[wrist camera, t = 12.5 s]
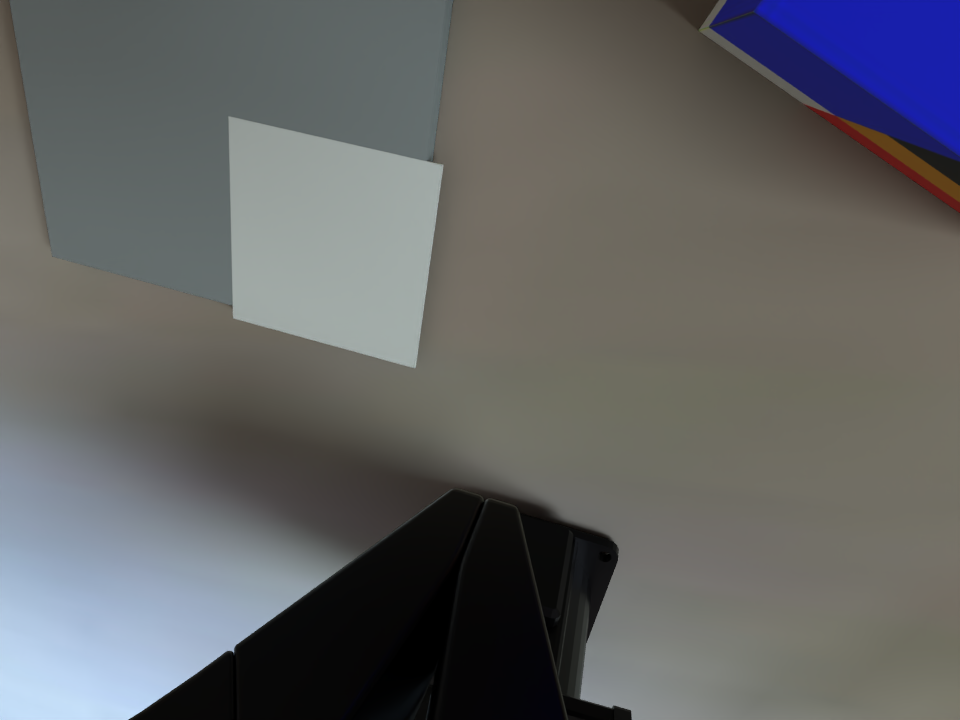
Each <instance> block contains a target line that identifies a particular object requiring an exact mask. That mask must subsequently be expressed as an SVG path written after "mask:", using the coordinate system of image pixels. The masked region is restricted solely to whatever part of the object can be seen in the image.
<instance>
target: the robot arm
mask: <svg viewBox="0 0 960 720" xmlns="http://www.w3.org/2000/svg"><path fill="white" fill-rule="evenodd" d="M618 551H619V549H618V547H617V545H616V544H615V543H614V542H612V541H610V540H608V539H604V538H601V537H598V536H594V535H591V534H588V533H584V532H581V531H578V530H574V529H571V528H568V527H564V526H561V525H558V524H554V523H551V522H548V521H544V520H541V519H538V518H534V517H531V516H528V515H524V514H521V513H519V511H518V508H517V507H516V506H514V505H512V504H508V503H505V502H502V501H498V500H495V499H491V498H489V499H487V500H485V502H484V499H483V497H482V496H481V495H478V494H475V493H471V492H468V491H465V490H461V489H458V488H454V489H451V490H449V491H448V492H447V493H445V494H444V495H442V496H441V497H440V498H438V499H437V500H436V501H434V502H433V503H431V504H430V505H429V506H427V507H426V508H425V509H423V510H422V511H420V512H419V513H418V514H416V515H415V516H413V517H412V518H411V519H409V520H408V521H407V522H405V523H404V524H402V525H401V526H400V527H398V528H397V529H396V530H394V531H393V532H391V533H390V534H389V535H387V536H386V537H385V538H383V539H382V540H380V541H379V542H378V543H376V544H375V545H374V546H372V547H371V548H369V549H368V550H367V551H365V552H364V553H363V554H361V555H360V556H358V557H357V558H356V559H354V560H353V561H352V562H350V563H349V564H347V565H346V566H345V567H343V568H342V569H340V570H339V571H338V572H336V573H335V574H334V575H332V576H331V577H329V578H328V579H327V580H325V581H324V582H323V583H321V584H320V585H318V586H317V587H316V588H314V589H313V590H312V591H310V592H309V593H307V594H306V595H305V596H303V597H302V598H301V599H299V600H298V601H296V602H295V603H294V604H292V605H291V606H289V607H288V608H287V609H285V610H284V611H283V612H281V613H280V614H278V615H277V616H276V617H274V618H273V619H272V620H270V621H269V622H267V623H266V624H265V625H263V626H262V627H261V628H259V629H258V630H256V631H255V632H254V633H252V634H251V635H250V636H248V637H247V638H245V639H244V640H243V641H241V642H240V643H239V644H237V645H236V646H235V648H234V653H233V652H232V651H227V652H225V653H224V654H223V655H221V656H220V657H219V658H217V659H216V660H214V661H213V662H212V663H210V664H209V665H208V666H206V667H205V668H204V669H202V670H201V671H199V672H198V673H197V674H195V675H194V676H192V677H191V678H189V679H188V680H187V681H185V682H184V683H182V684H181V685H179V686H178V687H176V688H175V689H174V690H172V691H171V692H169V693H168V694H166V695H165V696H163V697H162V698H160V699H159V700H158V701H156V702H155V703H153V704H152V705H150V706H149V707H147V708H146V709H144V710H143V711H142V712H140V713H138V714H137V715H135V716H134V717H132V718H130V719H129V720H632V718H631V710H628V709H624V708H621V707H617V706H613V707H612V708H609V707H606V706H602V705H599V704H595V703H592V702H588V701H585V700H581V699H580V694H581V685H582V676H583V667H584V657H585V648H586V643H587V640H588V638H589V635H590V632H591V630H592V627H593V624H594V622H595V619H596V617H597V614H598V611H599V609H600V606H601V603H602V601H603V598H604V596H605V593H606V590H607V588H608V585H609V582H610V580H611V577H612V575H613V572H614V569H615V567H616V564H617V561H618ZM600 552H608V553H610V554H607V555H606V554H602V553H600Z"/></svg>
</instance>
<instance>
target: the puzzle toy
mask: <svg viewBox="0 0 960 720" xmlns="http://www.w3.org/2000/svg"><path fill="white" fill-rule="evenodd" d="M698 31H699V32H701V33H702V34H704V35H705V36H707V37H708V38H709V39H711V40H712V41H714V42H715V43H717V44H718V45H720V46H721V47H722V48H724V49H725V50H727V51H728V52H730V53H731V54H732V55H734V56H735V57H737V58H738V59H740V60H741V61H742V62H744V63H745V64H747V65H748V66H750V67H751V68H753V69H754V70H755V71H757V72H758V73H760V74H761V75H763V76H764V77H765V78H767V79H768V80H770V81H771V82H773V83H774V84H775V85H777V86H778V87H780V88H781V89H783V90H784V91H786V92H787V93H788V94H790V95H791V96H793V97H794V98H796V99H797V100H798V101H800V102H801V103H803V104H804V105H806V106H807V107H808V108H810V109H811V110H813V111H814V112H816V113H817V114H819V115H820V116H821V117H823V118H824V119H826V120H827V121H829V122H830V123H831V124H833V125H834V126H836V127H837V128H839V129H840V130H841V131H843V132H844V133H846V134H847V135H849V136H850V137H852V138H853V139H854V140H856V141H857V142H859V143H860V144H862V145H863V146H864V147H866V148H867V149H869V150H870V151H872V152H873V153H874V154H876V155H877V156H879V157H880V158H882V159H883V160H885V161H886V162H887V163H889V164H890V165H892V166H893V167H895V168H896V169H897V170H899V171H900V172H902V173H903V174H905V175H906V176H907V177H909V178H910V179H912V180H913V181H915V182H916V183H917V184H919V185H920V186H922V187H923V188H925V189H926V190H928V191H929V192H930V193H932V194H933V195H935V196H936V197H938V198H939V199H940V200H942V201H943V202H945V203H946V204H948V205H949V206H950V207H952V208H953V209H955V210H956V211H958V212H959V213H960V0H719V1H718V3H717V4H716V5H715V7H714V8H713V10H712V11H711V13H710V14H709V16H708V17H707V19H706V20H705V22H704V23H703V24H702V26H701V27H700V29H699V30H698Z"/></svg>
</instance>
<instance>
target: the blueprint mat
mask: <svg viewBox="0 0 960 720" xmlns="http://www.w3.org/2000/svg"><path fill="white" fill-rule="evenodd" d="M9 1H10V7H11V13H12V19H13V25H14V31H15V37H16V43H17V49H18V55H19V61H20V67H21V73H22V79H23V85H24V91H25V97H26V103H27V109H28V115H29V121H30V127H31V133H32V139H33V145H34V151H35V157H36V163H37V169H38V174H39V180H40V186H41V192H42V198H43V204H44V210H45V216H46V222H47V228H48V234H49V240H50V246H51V252H52V257H56V258H60V259H63V260H67V261H71V262H74V263H78V264H82V265H85V266H89V267H93V268H96V269H100V270H104V271H107V272H111V273H115V274H118V275H122V276H126V277H129V278H133V279H137V280H140V281H144V282H148V283H151V284H155V285H159V286H162V287H166V288H170V289H173V290H177V291H181V292H184V293H188V294H192V295H195V296H199V297H203V298H207V299H210V300H214V301H218V302H221V303H225V304H229V305H232V306H233V318H234V319H238V320H241V321H245V322H249V323H252V324H256V325H259V326H263V327H267V328H270V329H274V330H278V331H281V332H285V333H289V334H292V335H296V336H299V337H303V338H307V339H310V340H314V341H318V342H321V343H325V344H329V345H332V346H336V347H339V348H343V349H347V350H350V351H354V352H358V353H361V354H365V355H369V356H372V357H376V358H379V359H383V360H387V361H390V362H394V363H398V364H401V365H405V366H408V367H412V368H415V367H416V362H417V354H418V347H419V340H420V332H421V325H422V318H423V311H424V303H425V296H426V289H427V281H428V274H429V267H430V260H431V252H432V245H433V238H434V230H435V223H436V216H437V209H438V201H439V194H440V187H441V180H442V172H443V164H439V163H435V162H432V161H433V153H434V145H435V137H436V130H437V122H438V114H439V106H440V99H441V91H442V83H443V75H444V67H445V60H446V52H447V44H448V36H449V29H450V21H451V13H452V5H453V0H9Z"/></svg>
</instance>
